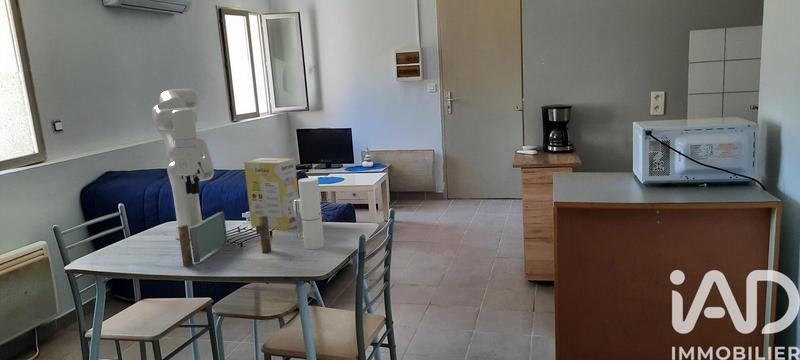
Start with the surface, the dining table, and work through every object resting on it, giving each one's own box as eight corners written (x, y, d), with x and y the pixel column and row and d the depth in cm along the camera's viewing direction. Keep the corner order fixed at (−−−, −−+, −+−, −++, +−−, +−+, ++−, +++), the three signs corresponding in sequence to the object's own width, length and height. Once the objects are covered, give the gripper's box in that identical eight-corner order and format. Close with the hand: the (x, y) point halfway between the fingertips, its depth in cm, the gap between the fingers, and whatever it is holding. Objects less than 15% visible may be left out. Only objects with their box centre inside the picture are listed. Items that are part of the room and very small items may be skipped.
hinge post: (183, 267, 198) (177, 227, 195) (183, 264, 200) (177, 225, 198) (193, 265, 199) (187, 226, 196) (192, 262, 202) (187, 224, 199)
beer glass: (310, 239, 221) (306, 201, 218) (293, 239, 223) (289, 201, 220) (316, 233, 228) (313, 197, 225) (299, 233, 229) (296, 197, 226)
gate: (198, 262, 199) (193, 228, 197) (192, 262, 200) (188, 228, 197) (227, 242, 222) (224, 211, 219) (223, 242, 222) (219, 211, 220)
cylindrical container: (327, 243, 214) (321, 177, 209) (318, 249, 207) (312, 181, 203) (310, 242, 216) (304, 177, 212) (301, 248, 210) (294, 181, 205)
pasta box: (301, 223, 246) (294, 158, 241) (285, 229, 237) (278, 162, 231) (267, 220, 254) (260, 157, 249) (251, 226, 245) (244, 162, 240)
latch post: (259, 255, 205) (255, 220, 203) (257, 251, 209) (253, 217, 207) (272, 253, 207) (268, 218, 204) (270, 249, 211) (266, 215, 208)
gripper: (162, 145, 208) (169, 194, 211) (194, 145, 200) (200, 196, 204) (179, 142, 214) (186, 190, 218) (210, 142, 207) (216, 192, 210)
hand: (193, 193), depth 211 cm, fingers closed
